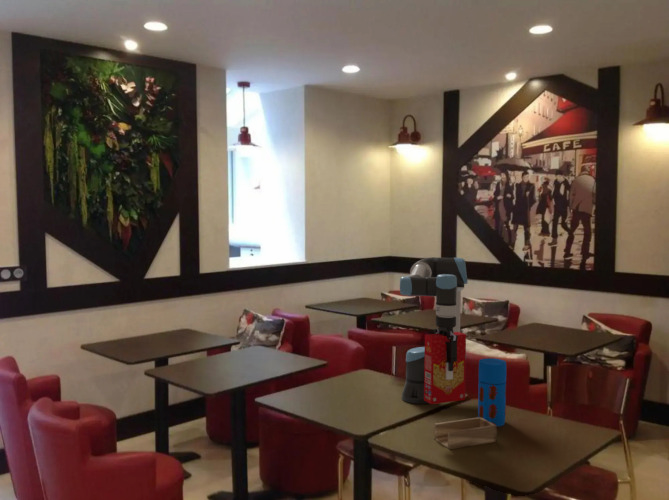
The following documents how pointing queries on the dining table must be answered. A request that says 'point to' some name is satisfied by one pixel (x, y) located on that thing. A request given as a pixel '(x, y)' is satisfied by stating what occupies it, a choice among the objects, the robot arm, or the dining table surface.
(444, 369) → the food packaging
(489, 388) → the thermos
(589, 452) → the dining table surface
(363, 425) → the dining table surface
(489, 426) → the u rest
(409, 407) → the dining table surface
